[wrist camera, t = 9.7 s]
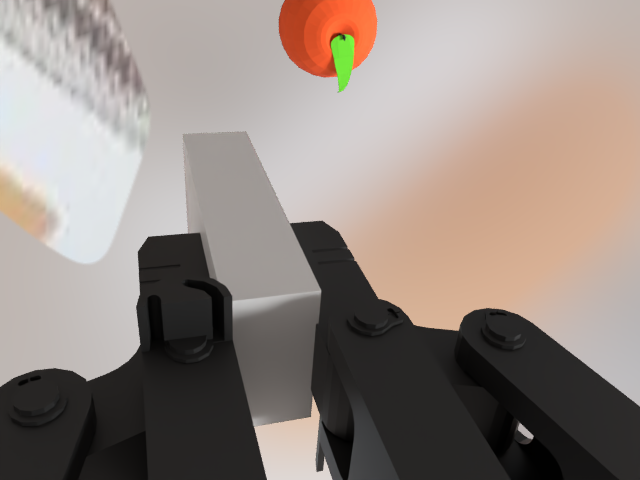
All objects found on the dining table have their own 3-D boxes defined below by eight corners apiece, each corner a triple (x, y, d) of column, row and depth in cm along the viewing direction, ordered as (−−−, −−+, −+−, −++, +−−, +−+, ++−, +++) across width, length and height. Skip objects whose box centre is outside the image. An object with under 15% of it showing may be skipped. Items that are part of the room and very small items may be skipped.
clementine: (362, 66, 49) (396, 94, 43) (278, 84, 47) (302, 114, 41) (354, -42, 44) (391, -28, 38) (261, -26, 43) (286, -8, 37)
